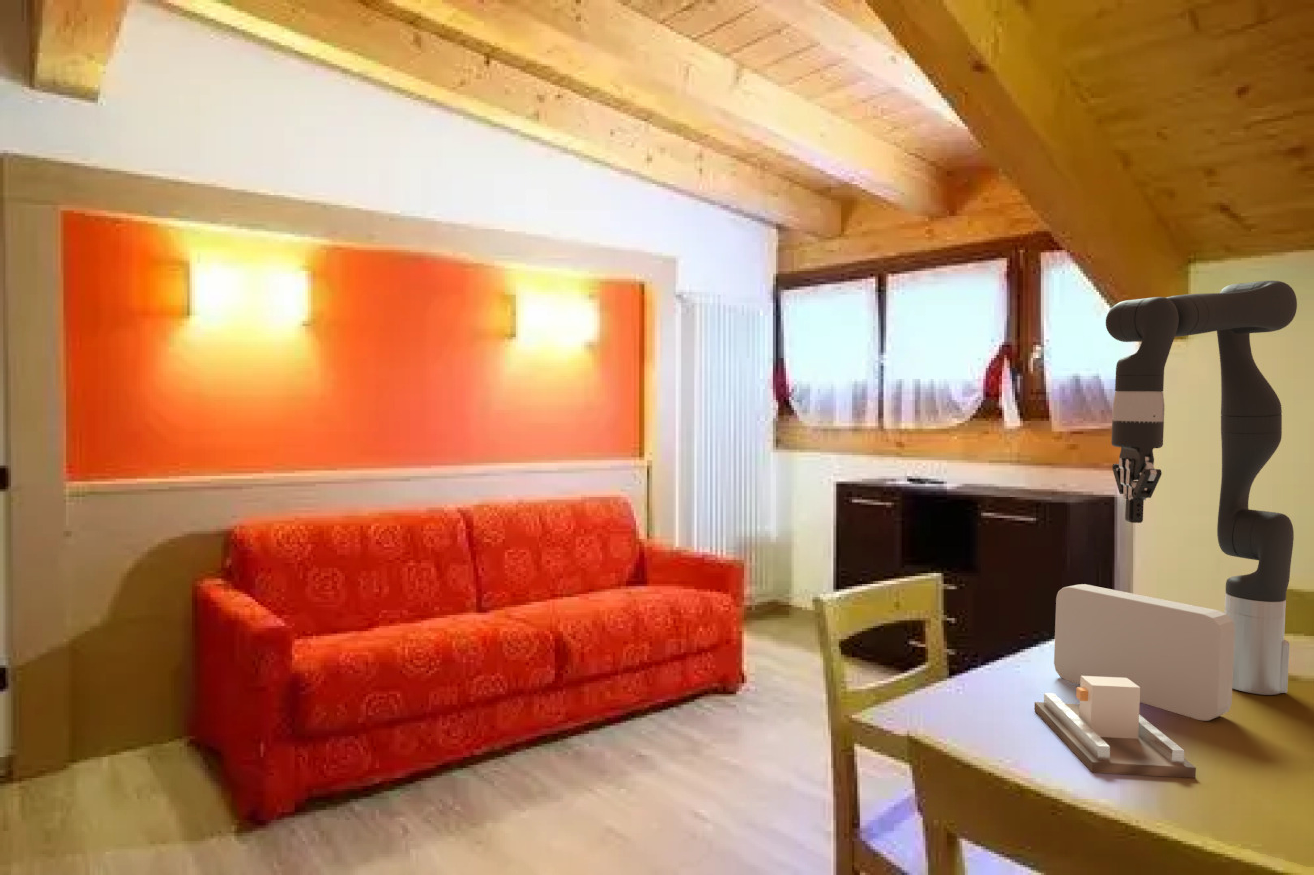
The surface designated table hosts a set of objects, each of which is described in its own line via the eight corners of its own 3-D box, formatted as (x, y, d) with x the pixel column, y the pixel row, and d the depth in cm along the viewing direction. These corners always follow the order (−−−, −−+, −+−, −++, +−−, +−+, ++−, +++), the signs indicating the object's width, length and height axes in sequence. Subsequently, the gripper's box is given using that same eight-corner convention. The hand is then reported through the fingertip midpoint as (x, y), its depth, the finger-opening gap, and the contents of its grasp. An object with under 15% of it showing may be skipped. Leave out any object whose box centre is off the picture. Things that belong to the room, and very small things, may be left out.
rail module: (1125, 727, 133) (1126, 677, 133) (1138, 738, 129) (1140, 687, 129) (1071, 724, 134) (1073, 675, 134) (1082, 735, 130) (1084, 684, 129)
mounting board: (1120, 714, 143) (1120, 706, 143) (1195, 778, 119) (1195, 767, 119) (1034, 710, 144) (1034, 702, 144) (1091, 772, 120) (1092, 762, 120)
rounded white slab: (1237, 716, 143) (1242, 611, 142) (1216, 725, 139) (1221, 617, 138) (1075, 670, 167) (1078, 580, 166) (1053, 676, 163) (1056, 584, 162)
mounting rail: (1115, 707, 142) (1116, 696, 142) (1183, 764, 120) (1184, 750, 120) (1043, 704, 143) (1044, 692, 143) (1097, 759, 121) (1098, 745, 121)
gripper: (1182, 420, 133) (1177, 528, 134) (1142, 418, 147) (1138, 517, 147) (1132, 419, 134) (1128, 527, 135) (1097, 417, 147) (1094, 516, 148)
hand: (1133, 521), depth 141 cm, fingers closed
